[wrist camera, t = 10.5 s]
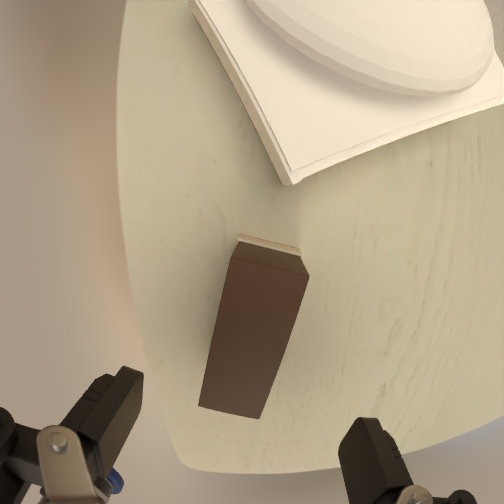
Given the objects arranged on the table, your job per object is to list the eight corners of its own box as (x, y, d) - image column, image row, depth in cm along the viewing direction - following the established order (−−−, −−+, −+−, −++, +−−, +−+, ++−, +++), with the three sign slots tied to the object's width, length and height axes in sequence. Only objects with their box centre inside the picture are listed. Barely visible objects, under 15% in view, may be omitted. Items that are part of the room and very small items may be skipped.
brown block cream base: (239, 234, 23) (229, 252, 16) (299, 249, 23) (312, 273, 17) (210, 361, 25) (196, 407, 19) (261, 373, 26) (259, 421, 19)
